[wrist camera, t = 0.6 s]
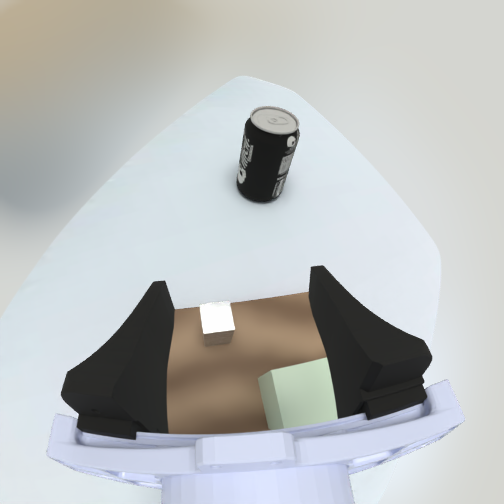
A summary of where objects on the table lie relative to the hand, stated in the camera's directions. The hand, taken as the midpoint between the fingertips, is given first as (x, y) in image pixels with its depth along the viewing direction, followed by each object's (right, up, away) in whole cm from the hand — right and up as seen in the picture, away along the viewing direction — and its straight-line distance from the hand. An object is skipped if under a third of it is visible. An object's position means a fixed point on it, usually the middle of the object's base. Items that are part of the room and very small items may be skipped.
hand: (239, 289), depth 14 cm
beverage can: (+2, +11, +27) cm, 29 cm away
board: (+1, -11, +14) cm, 17 cm away
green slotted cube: (+4, -13, +12) cm, 18 cm away
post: (-3, -6, +14) cm, 16 cm away
